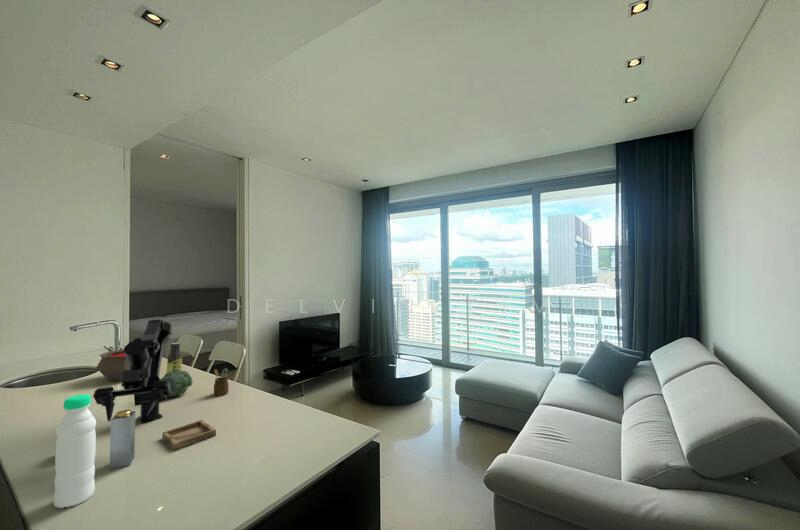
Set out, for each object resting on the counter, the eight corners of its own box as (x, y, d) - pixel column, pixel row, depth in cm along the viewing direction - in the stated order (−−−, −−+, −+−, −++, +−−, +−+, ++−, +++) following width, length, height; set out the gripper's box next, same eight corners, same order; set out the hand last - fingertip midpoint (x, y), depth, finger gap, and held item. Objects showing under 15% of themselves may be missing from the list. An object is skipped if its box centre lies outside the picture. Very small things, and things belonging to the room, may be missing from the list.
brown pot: (82, 383, 162) (83, 351, 162) (129, 369, 185) (130, 341, 186) (122, 386, 158) (123, 353, 158) (165, 372, 181) (166, 342, 182)
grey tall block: (114, 461, 95) (116, 410, 95) (134, 457, 97) (135, 407, 97) (109, 470, 91) (111, 416, 91) (129, 465, 93) (131, 413, 93)
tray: (162, 438, 108) (162, 432, 108) (201, 425, 118) (201, 419, 118) (175, 450, 101) (175, 444, 101) (215, 435, 110) (216, 429, 110)
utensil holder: (231, 392, 151) (231, 366, 151) (219, 397, 145) (220, 370, 145) (221, 390, 153) (222, 365, 153) (210, 395, 147) (210, 369, 147)
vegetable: (198, 382, 158) (197, 376, 147) (176, 406, 150) (173, 402, 139) (176, 368, 157) (173, 361, 145) (153, 392, 149) (148, 387, 137)
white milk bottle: (72, 490, 82) (75, 391, 83) (102, 489, 83) (104, 391, 84) (44, 510, 75) (47, 402, 76) (77, 508, 76) (80, 401, 77)
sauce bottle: (173, 385, 160) (174, 345, 161) (162, 384, 161) (163, 344, 162) (184, 380, 166) (185, 342, 167) (174, 380, 168) (175, 341, 168)
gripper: (96, 362, 100) (79, 411, 89) (169, 355, 108) (162, 400, 98) (105, 380, 106) (90, 428, 96) (173, 372, 115) (166, 416, 105)
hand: (128, 417), depth 99 cm, fingers open, 9 cm apart
